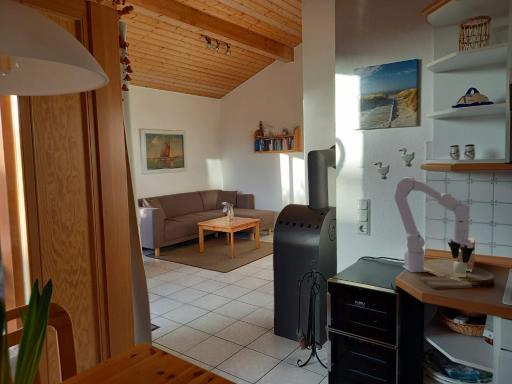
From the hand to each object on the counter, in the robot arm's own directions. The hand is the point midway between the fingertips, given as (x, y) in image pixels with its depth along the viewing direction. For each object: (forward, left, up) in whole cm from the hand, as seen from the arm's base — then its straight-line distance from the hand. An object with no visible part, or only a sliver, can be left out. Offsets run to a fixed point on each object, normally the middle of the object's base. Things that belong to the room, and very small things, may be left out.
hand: (460, 260), depth 174 cm
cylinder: (0, 0, -7) cm, 7 cm away
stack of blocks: (-14, +12, -7) cm, 20 cm away
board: (+9, -12, -7) cm, 17 cm away
